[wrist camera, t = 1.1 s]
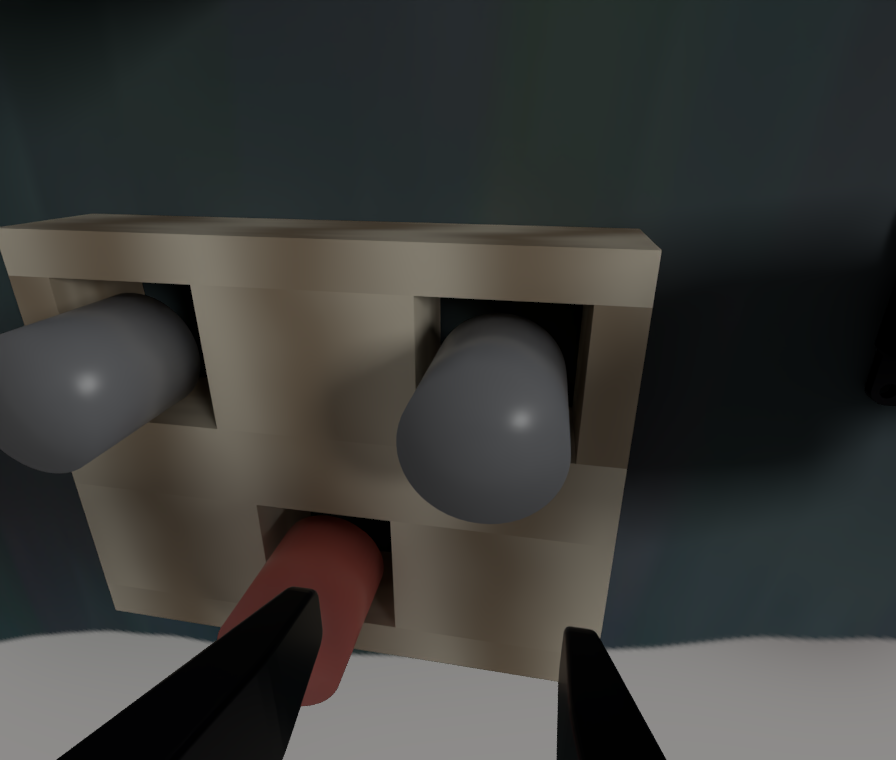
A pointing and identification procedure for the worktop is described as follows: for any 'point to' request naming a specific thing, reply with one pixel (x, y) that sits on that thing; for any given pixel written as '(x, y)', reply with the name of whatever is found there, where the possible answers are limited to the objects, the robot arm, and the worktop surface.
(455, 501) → the grey plug
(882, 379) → the robot arm
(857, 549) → the worktop surface
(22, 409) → the grey plug
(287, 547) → the red plug
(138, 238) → the plug board
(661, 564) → the worktop surface
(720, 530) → the worktop surface
